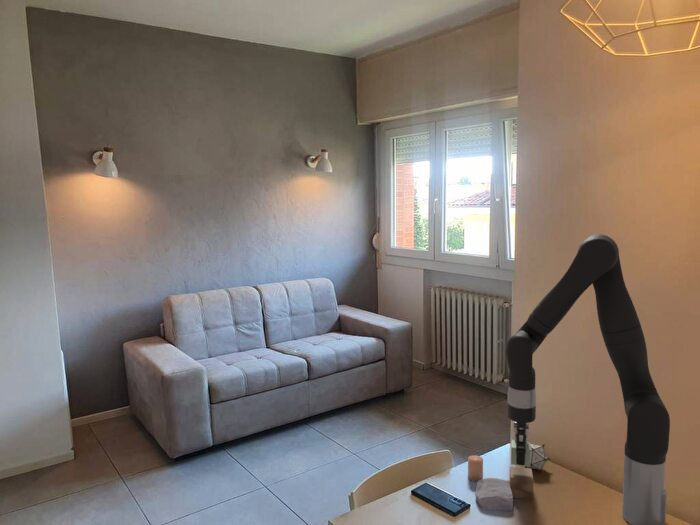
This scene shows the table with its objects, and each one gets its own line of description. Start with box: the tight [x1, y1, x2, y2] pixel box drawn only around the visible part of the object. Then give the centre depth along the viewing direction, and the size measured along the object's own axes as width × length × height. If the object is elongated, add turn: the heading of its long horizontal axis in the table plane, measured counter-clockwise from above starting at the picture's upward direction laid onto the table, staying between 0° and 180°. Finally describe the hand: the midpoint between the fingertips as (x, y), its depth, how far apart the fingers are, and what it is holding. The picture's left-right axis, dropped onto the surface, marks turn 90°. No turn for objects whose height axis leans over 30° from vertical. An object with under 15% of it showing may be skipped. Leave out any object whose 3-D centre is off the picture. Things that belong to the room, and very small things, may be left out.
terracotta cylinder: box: [467, 454, 484, 482], centre depth 160 cm, size 4×4×6 cm
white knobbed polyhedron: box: [524, 443, 551, 473], centre depth 164 cm, size 9×8×10 cm
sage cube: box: [510, 439, 531, 468], centre depth 150 cm, size 5×5×5 cm
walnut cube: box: [509, 466, 534, 500], centre depth 152 cm, size 6×6×6 cm
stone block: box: [474, 477, 514, 511], centre depth 149 cm, size 12×5×10 cm
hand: (520, 459), depth 151 cm, fingers closed on sage cube, 5 cm apart
